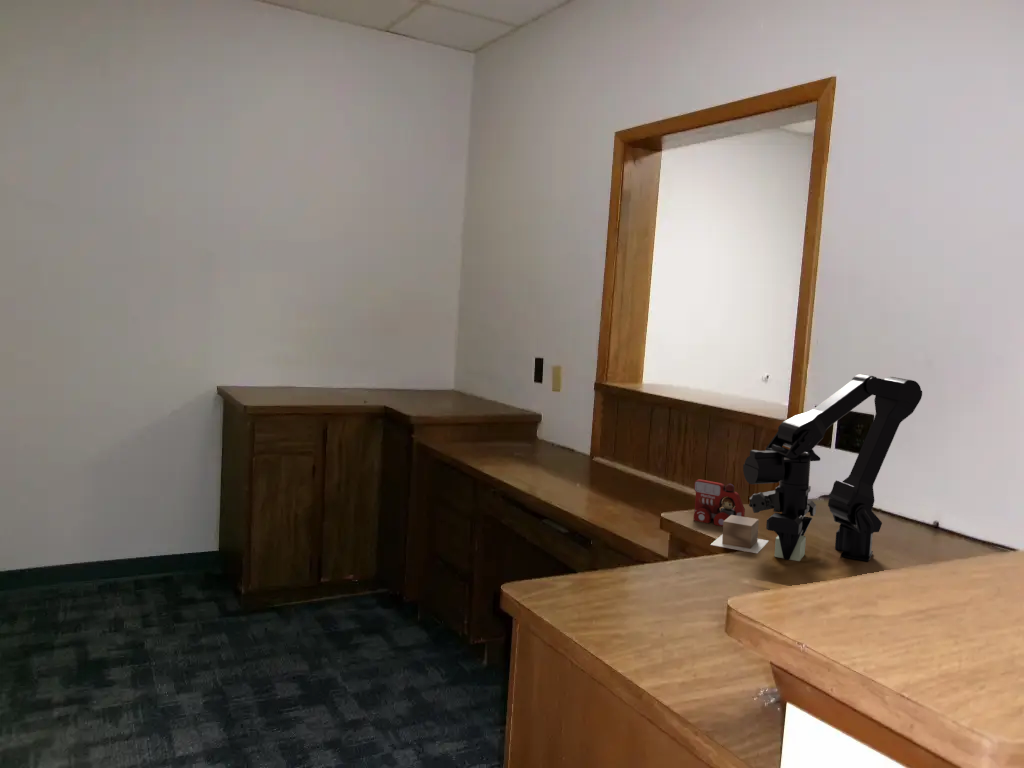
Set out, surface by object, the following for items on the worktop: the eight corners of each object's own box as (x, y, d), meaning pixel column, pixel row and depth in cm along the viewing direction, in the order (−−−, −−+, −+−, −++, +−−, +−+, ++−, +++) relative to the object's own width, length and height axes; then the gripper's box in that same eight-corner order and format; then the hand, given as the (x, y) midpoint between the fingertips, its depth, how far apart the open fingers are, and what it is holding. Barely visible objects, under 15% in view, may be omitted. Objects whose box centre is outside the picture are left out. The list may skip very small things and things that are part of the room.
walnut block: (757, 541, 175) (758, 519, 174) (750, 548, 169) (751, 526, 169) (730, 536, 178) (731, 514, 177) (722, 543, 173) (723, 521, 172)
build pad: (768, 545, 175) (769, 540, 175) (757, 557, 167) (757, 553, 167) (723, 537, 180) (723, 532, 180) (710, 549, 172) (710, 544, 172)
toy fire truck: (736, 534, 183) (738, 489, 182) (686, 523, 191) (688, 480, 190) (748, 527, 189) (750, 484, 187) (699, 517, 196) (701, 475, 195)
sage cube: (804, 559, 167) (805, 536, 166) (799, 566, 163) (800, 542, 162) (779, 554, 169) (781, 532, 169) (774, 561, 165) (775, 538, 164)
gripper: (765, 468, 176) (761, 536, 178) (742, 485, 160) (738, 560, 162) (818, 475, 170) (814, 545, 172) (800, 493, 154) (795, 571, 156)
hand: (789, 555), depth 166 cm, fingers open, 6 cm apart
